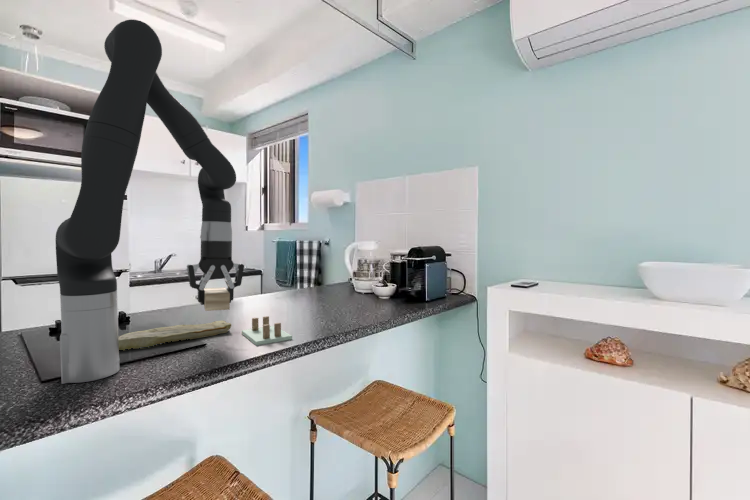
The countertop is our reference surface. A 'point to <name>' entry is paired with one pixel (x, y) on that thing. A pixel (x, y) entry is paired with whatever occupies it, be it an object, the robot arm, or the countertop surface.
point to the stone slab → (171, 334)
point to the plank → (217, 299)
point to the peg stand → (265, 332)
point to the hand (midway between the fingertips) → (215, 303)
